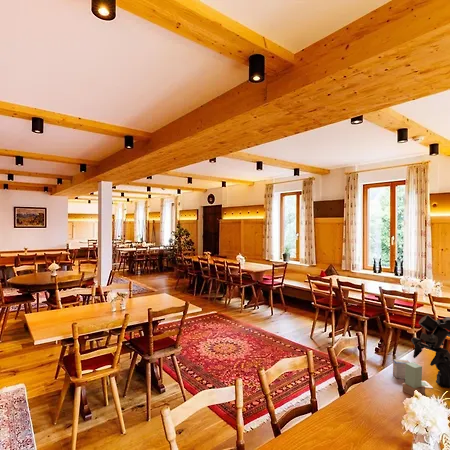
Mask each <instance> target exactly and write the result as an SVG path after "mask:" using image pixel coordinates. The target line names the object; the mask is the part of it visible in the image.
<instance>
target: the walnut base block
mask: <svg viewBox="0 0 450 450" xmlns="http://www.w3.org/2000/svg"><path fill="white" fill-rule="evenodd" d="M415 390H417V391H418V392H420V393H421V394H422V396H424V395H426V388H425V386H423V385H422V386H421V387H418V388H413V387H411V386H409V385H407V384H405V382H403V383H402V392H404V393H406V394H408V395H409V396H412V397H414V396H413V395H414V391H415Z"/></svg>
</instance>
